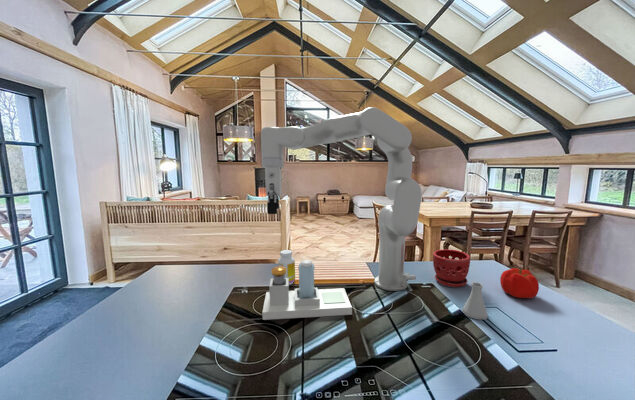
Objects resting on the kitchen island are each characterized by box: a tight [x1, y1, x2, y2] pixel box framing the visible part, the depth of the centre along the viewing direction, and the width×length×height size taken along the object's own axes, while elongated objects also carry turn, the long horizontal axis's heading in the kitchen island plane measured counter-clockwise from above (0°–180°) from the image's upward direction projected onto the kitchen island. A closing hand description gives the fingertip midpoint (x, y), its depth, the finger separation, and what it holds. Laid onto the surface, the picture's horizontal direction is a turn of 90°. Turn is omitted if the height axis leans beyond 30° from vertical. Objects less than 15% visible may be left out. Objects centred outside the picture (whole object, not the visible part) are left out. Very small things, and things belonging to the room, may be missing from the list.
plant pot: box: [432, 248, 471, 288], centre depth 106 cm, size 13×13×12 cm
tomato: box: [499, 267, 540, 299], centre depth 97 cm, size 11×12×9 cm
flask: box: [461, 281, 488, 320], centre depth 84 cm, size 7×7×10 cm
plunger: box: [271, 266, 286, 285], centre depth 88 cm, size 5×5×8 cm
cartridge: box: [298, 259, 315, 299], centre depth 89 cm, size 5×5×13 cm
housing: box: [261, 278, 353, 321], centre depth 89 cm, size 28×13×9 cm, turn 95°
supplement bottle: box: [277, 249, 296, 286], centre depth 107 cm, size 7×7×13 cm
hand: (273, 211), depth 96 cm, fingers open, 9 cm apart
